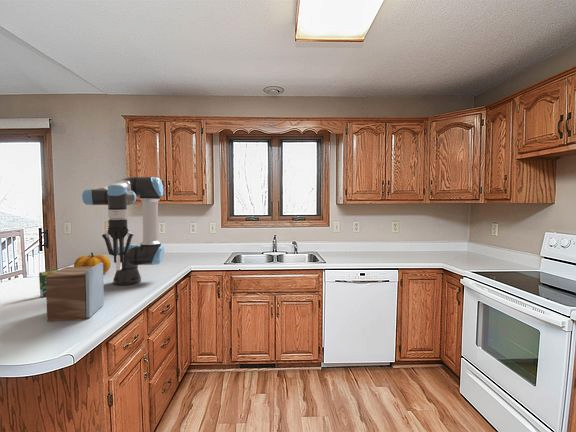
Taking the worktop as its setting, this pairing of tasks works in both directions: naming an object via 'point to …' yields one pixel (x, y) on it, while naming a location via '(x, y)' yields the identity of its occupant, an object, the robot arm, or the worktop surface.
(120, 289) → the worktop surface
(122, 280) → the robot arm
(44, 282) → the coffee box
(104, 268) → the decorative pumpkin
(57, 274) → the block
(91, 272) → the drawer
